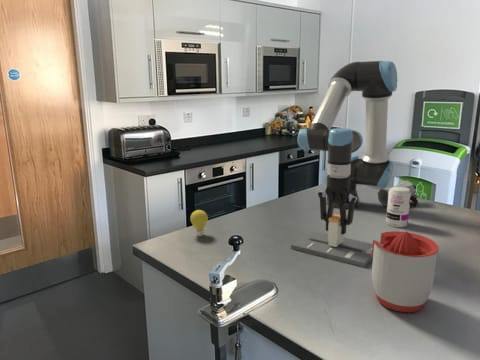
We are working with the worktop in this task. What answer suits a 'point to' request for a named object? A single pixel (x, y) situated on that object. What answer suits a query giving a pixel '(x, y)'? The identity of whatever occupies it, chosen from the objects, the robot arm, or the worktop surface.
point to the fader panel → (334, 248)
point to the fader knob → (334, 230)
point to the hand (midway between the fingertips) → (335, 240)
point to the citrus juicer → (403, 270)
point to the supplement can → (398, 206)
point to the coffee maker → (384, 192)
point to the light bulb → (199, 221)
